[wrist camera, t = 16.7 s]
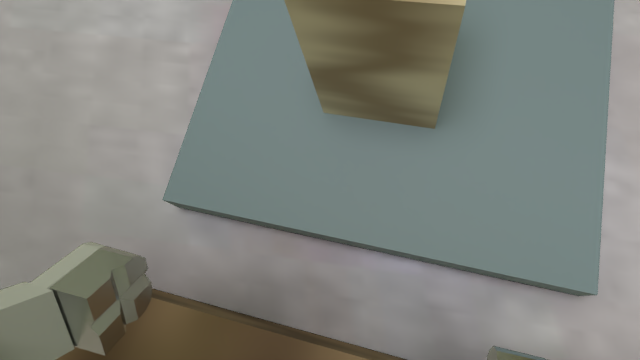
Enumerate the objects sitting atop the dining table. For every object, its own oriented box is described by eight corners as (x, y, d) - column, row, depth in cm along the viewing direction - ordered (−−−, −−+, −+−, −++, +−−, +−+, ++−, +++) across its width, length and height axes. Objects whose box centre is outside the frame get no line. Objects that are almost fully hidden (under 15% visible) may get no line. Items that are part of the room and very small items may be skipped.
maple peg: (323, 112, 18) (281, -9, 11) (347, 21, 20) (322, -138, 13) (434, 129, 17) (465, 5, 10) (452, 31, 18) (490, -139, 11)
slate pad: (178, 207, 20) (162, 199, 18) (265, -48, 24) (257, -70, 22) (578, 295, 16) (597, 295, 14) (601, -31, 20) (617, -56, 18)
